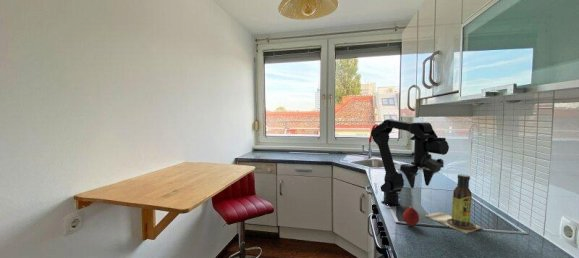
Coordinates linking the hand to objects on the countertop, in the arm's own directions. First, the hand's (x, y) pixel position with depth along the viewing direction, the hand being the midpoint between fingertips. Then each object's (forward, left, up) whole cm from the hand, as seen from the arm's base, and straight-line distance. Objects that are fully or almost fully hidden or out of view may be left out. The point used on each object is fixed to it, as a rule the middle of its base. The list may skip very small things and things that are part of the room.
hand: (419, 186), depth 112 cm
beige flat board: (+11, +7, -13) cm, 18 cm away
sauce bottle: (+14, +7, -12) cm, 20 cm away
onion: (+6, -12, -13) cm, 19 cm away
